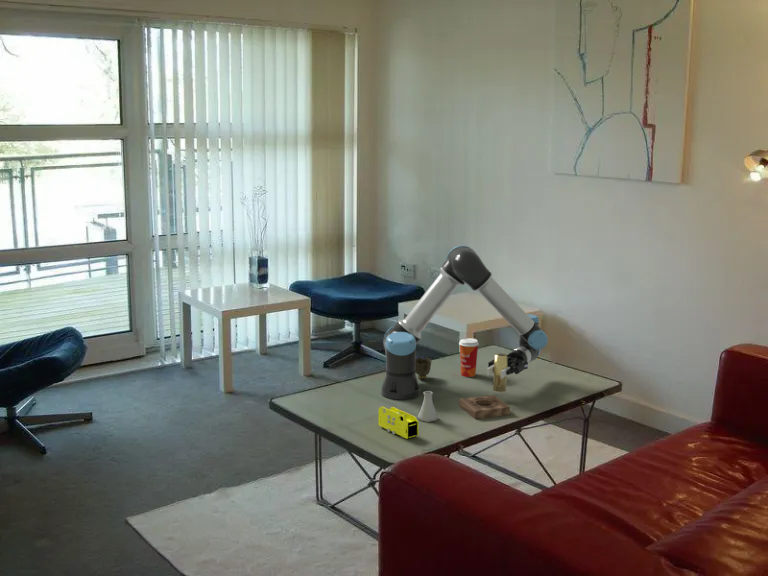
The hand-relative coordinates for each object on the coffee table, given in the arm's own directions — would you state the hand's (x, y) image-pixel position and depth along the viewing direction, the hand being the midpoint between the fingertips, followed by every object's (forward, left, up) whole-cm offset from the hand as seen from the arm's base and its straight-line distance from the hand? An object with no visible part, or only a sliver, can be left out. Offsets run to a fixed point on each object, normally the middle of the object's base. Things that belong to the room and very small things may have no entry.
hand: (494, 373), depth 319 cm
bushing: (+4, +3, -8) cm, 10 cm away
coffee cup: (+6, +36, -12) cm, 38 cm away
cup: (-14, +38, -12) cm, 42 cm away
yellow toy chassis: (-44, -15, -13) cm, 48 cm away
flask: (-29, -6, -12) cm, 33 cm away
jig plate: (-6, -5, -12) cm, 15 cm away
